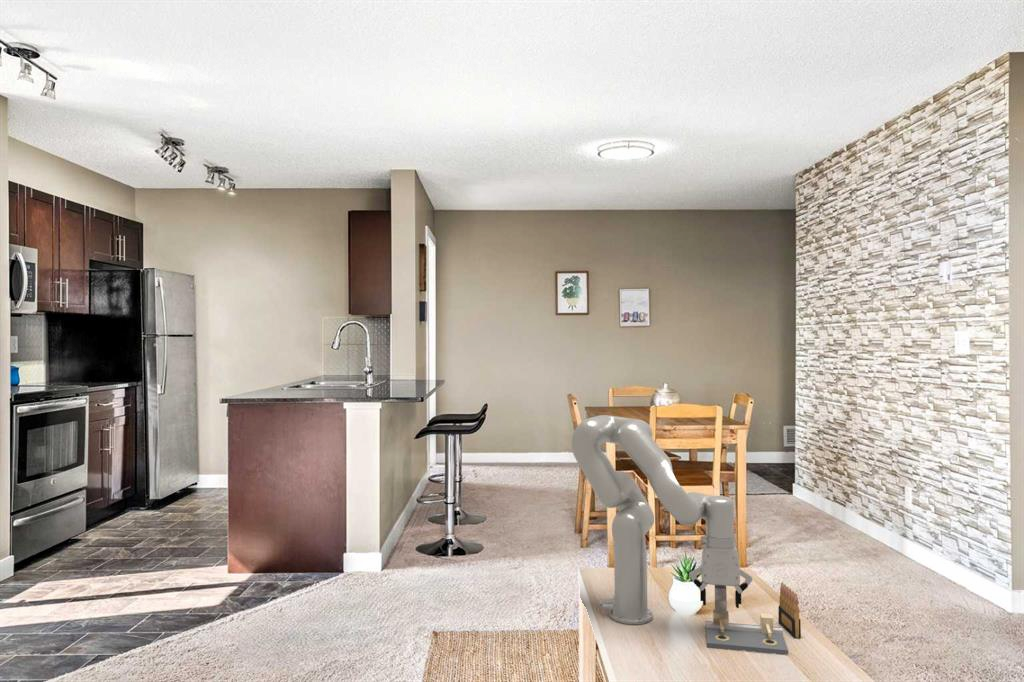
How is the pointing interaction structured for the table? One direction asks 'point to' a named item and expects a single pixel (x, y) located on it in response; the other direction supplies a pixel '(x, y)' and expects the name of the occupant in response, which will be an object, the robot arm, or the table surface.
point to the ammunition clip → (789, 611)
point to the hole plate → (748, 636)
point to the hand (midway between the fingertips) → (720, 604)
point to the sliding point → (720, 608)
